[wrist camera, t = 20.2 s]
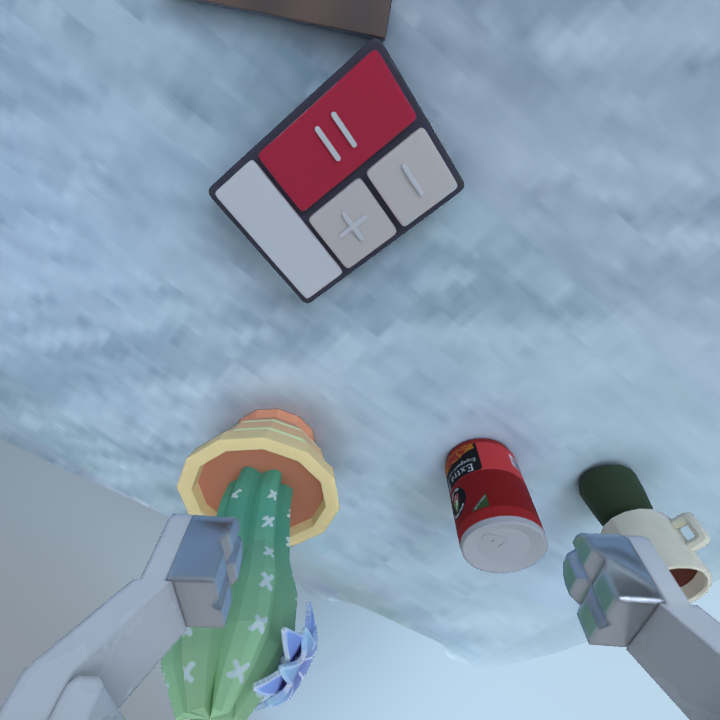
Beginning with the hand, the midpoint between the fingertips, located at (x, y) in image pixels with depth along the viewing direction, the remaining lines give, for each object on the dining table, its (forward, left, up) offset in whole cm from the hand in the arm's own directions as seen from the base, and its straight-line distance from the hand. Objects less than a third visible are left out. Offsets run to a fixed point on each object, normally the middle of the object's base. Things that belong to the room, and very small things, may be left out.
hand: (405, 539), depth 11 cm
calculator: (-4, +3, -29) cm, 30 cm away
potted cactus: (-7, -25, -29) cm, 39 cm away
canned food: (+16, -24, -29) cm, 41 cm away
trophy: (+31, -24, -29) cm, 49 cm away
